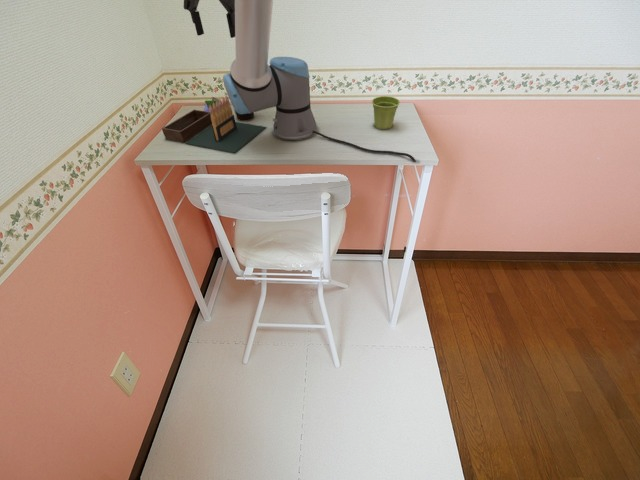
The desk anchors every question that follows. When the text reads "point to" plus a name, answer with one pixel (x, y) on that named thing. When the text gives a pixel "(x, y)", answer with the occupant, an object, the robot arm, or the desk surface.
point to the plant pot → (384, 111)
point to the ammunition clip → (222, 119)
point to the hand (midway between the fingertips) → (217, 35)
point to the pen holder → (187, 126)
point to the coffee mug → (244, 116)
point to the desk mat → (227, 138)
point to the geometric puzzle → (210, 104)
